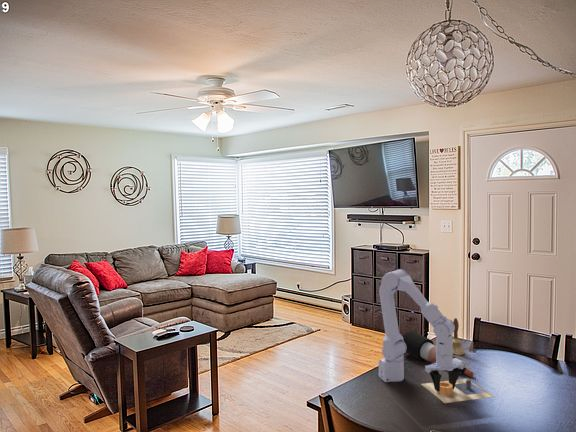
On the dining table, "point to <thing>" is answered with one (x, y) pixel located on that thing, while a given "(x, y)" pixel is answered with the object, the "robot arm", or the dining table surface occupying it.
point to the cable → (426, 350)
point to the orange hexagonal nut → (445, 388)
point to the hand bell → (457, 343)
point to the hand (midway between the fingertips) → (444, 389)
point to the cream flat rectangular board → (457, 392)
